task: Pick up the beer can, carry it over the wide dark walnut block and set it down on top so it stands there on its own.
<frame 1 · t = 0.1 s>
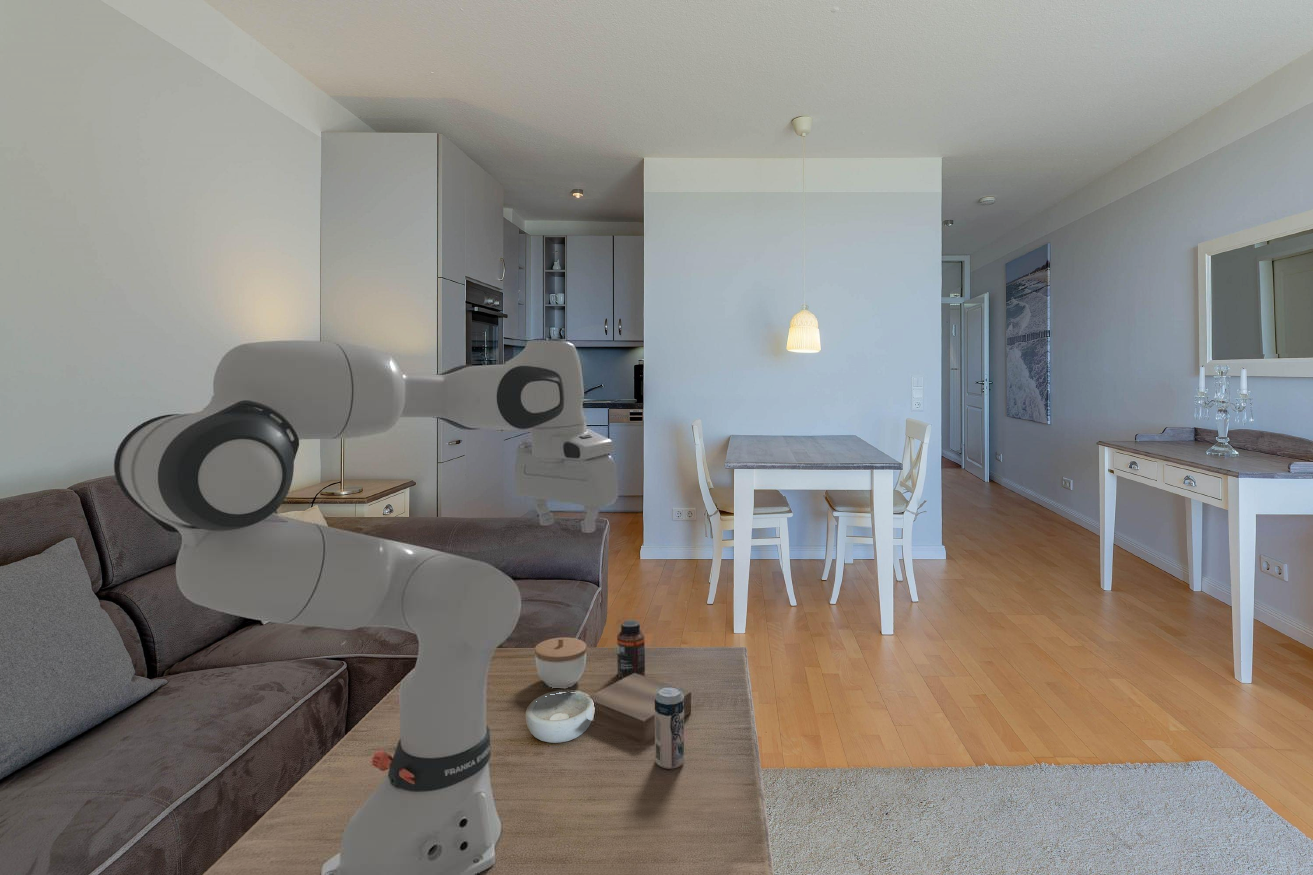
hand: (567, 527, 105), 39 cm above the table, tool pointing down, fingers open, 8 cm apart
supplement bottle: (631, 675, 141), on the table
beer can: (669, 763, 107), on the table
lidded jar: (561, 683, 137), on the table
walnut block: (639, 715, 122), on the table
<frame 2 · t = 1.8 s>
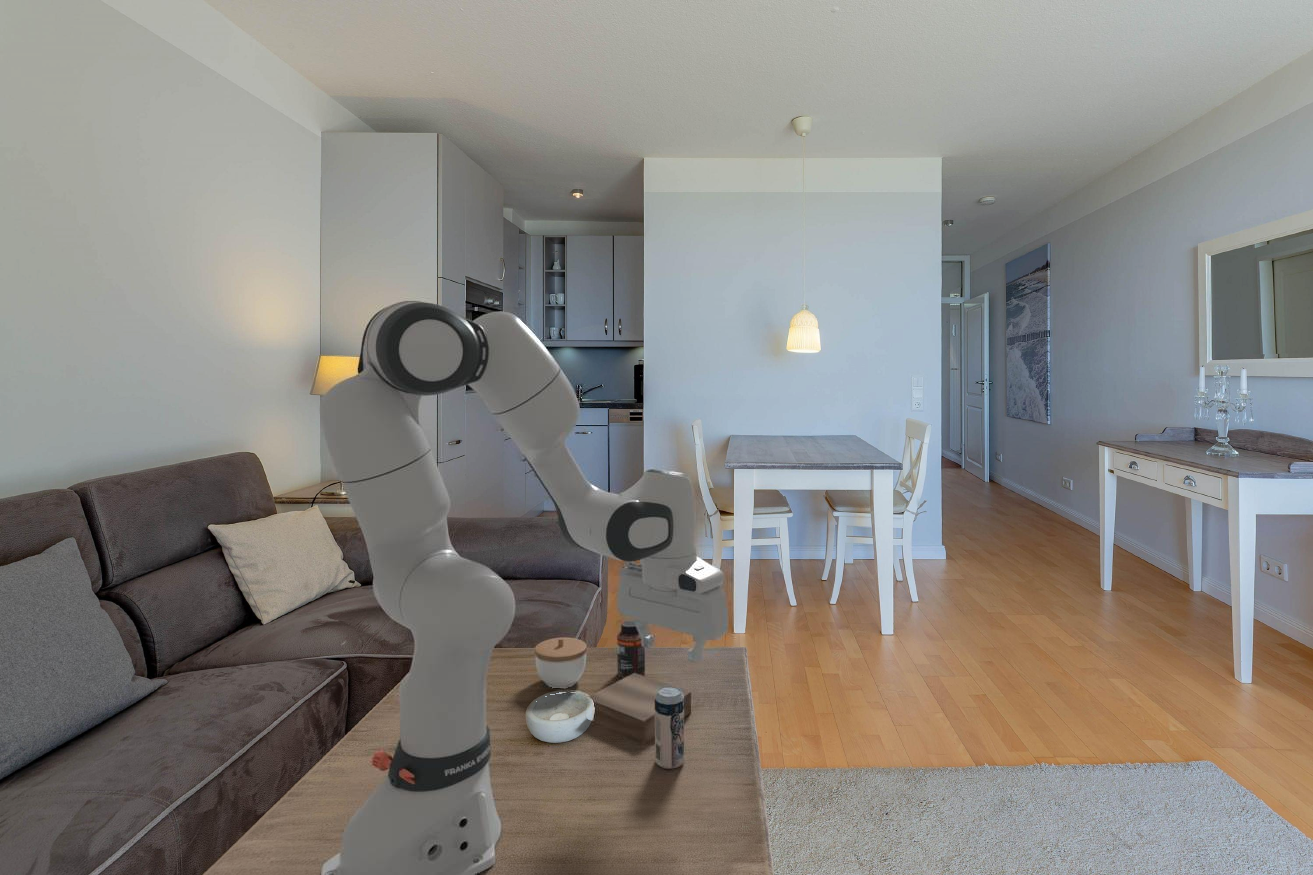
hand: (670, 653, 106), 18 cm above the table, tool pointing down, fingers open, 8 cm apart
nothing on the table moved.
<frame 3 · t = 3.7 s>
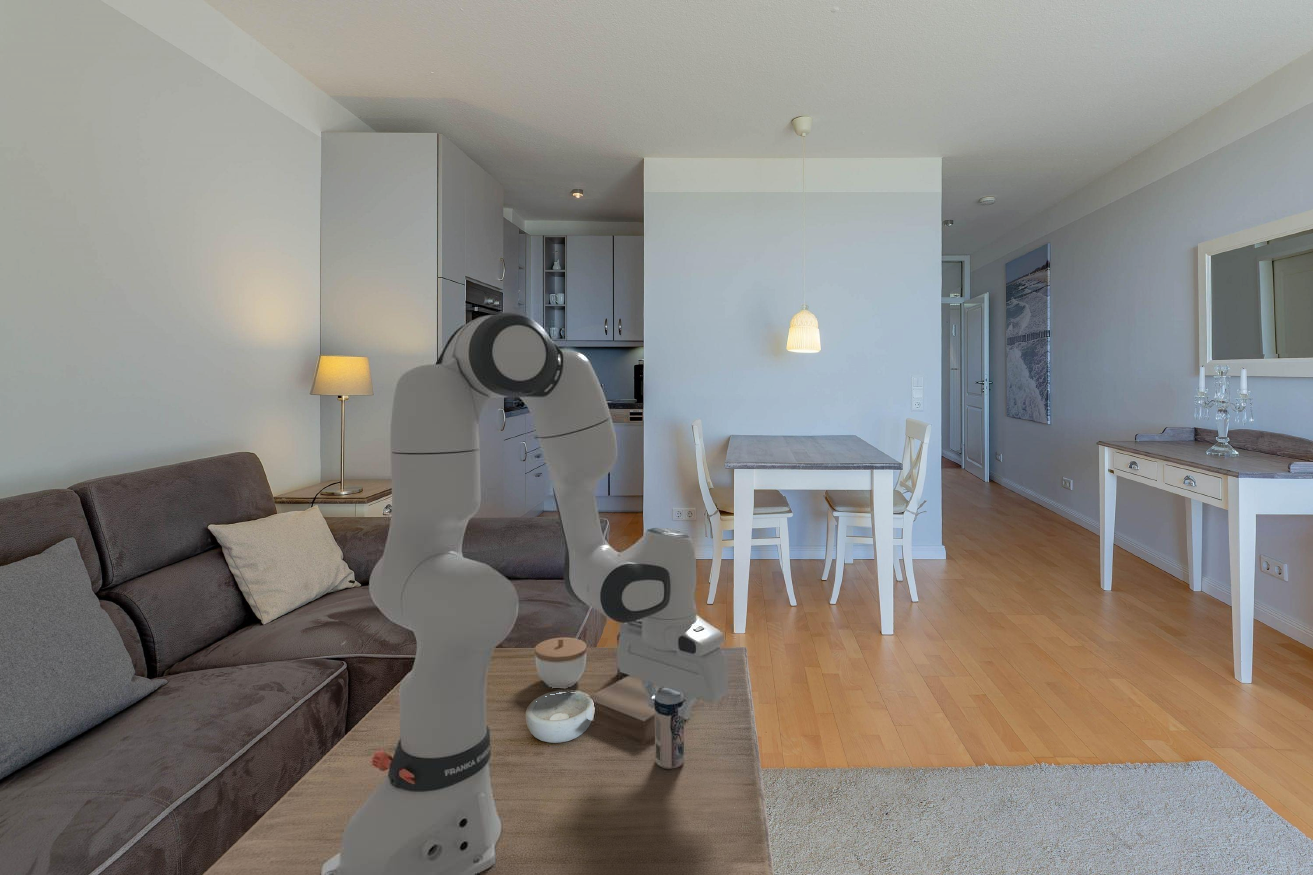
hand: (669, 711, 106), 9 cm above the table, tool pointing down, fingers closed on beer can, 5 cm apart
beer can: (669, 763, 107), on the table, touching gripper
everything else where it was.
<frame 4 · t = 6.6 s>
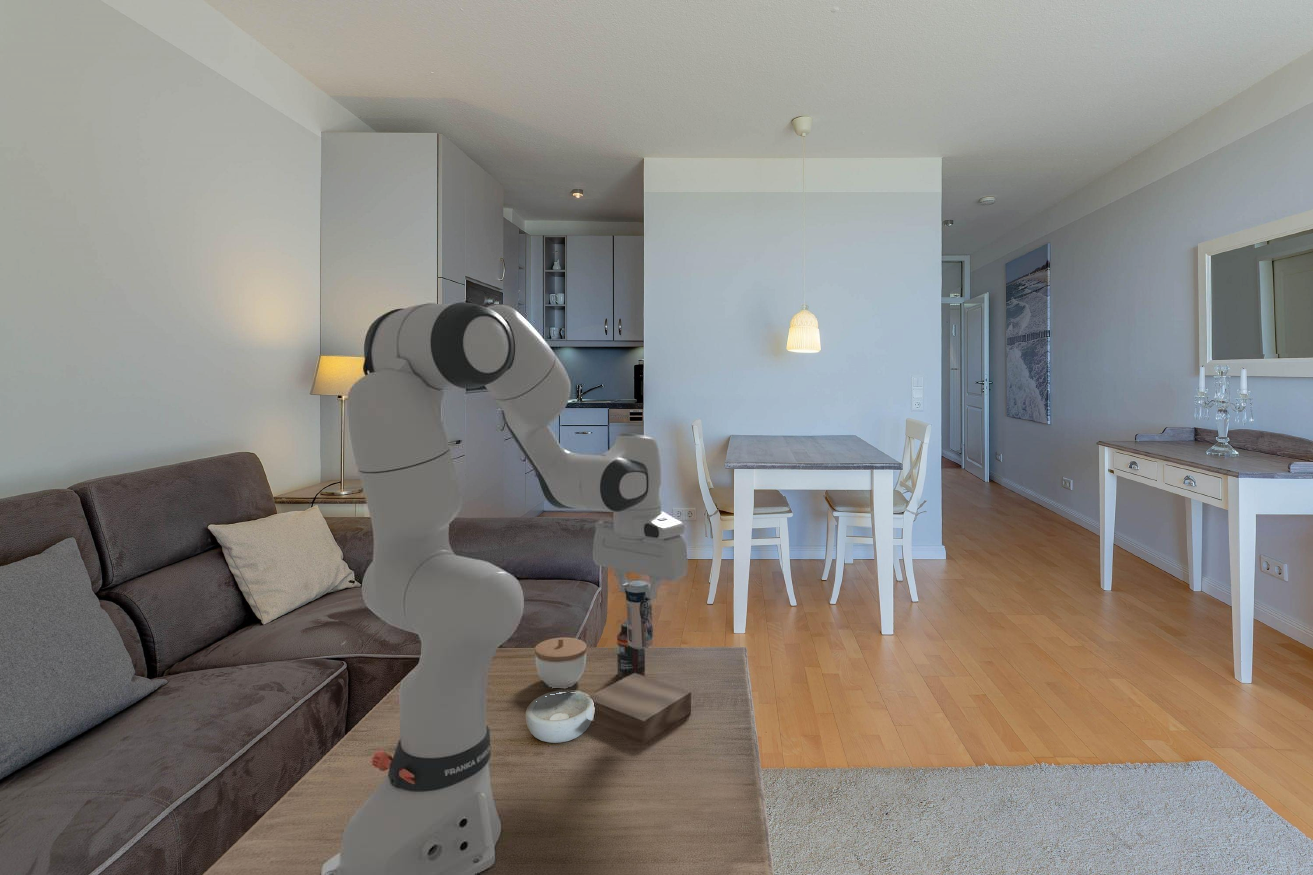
hand: (638, 595, 121), 23 cm above the table, tool pointing down, fingers closed on beer can, 5 cm apart
beer can: (640, 646, 122), point 13 cm above the table, touching gripper
everything else where it was.
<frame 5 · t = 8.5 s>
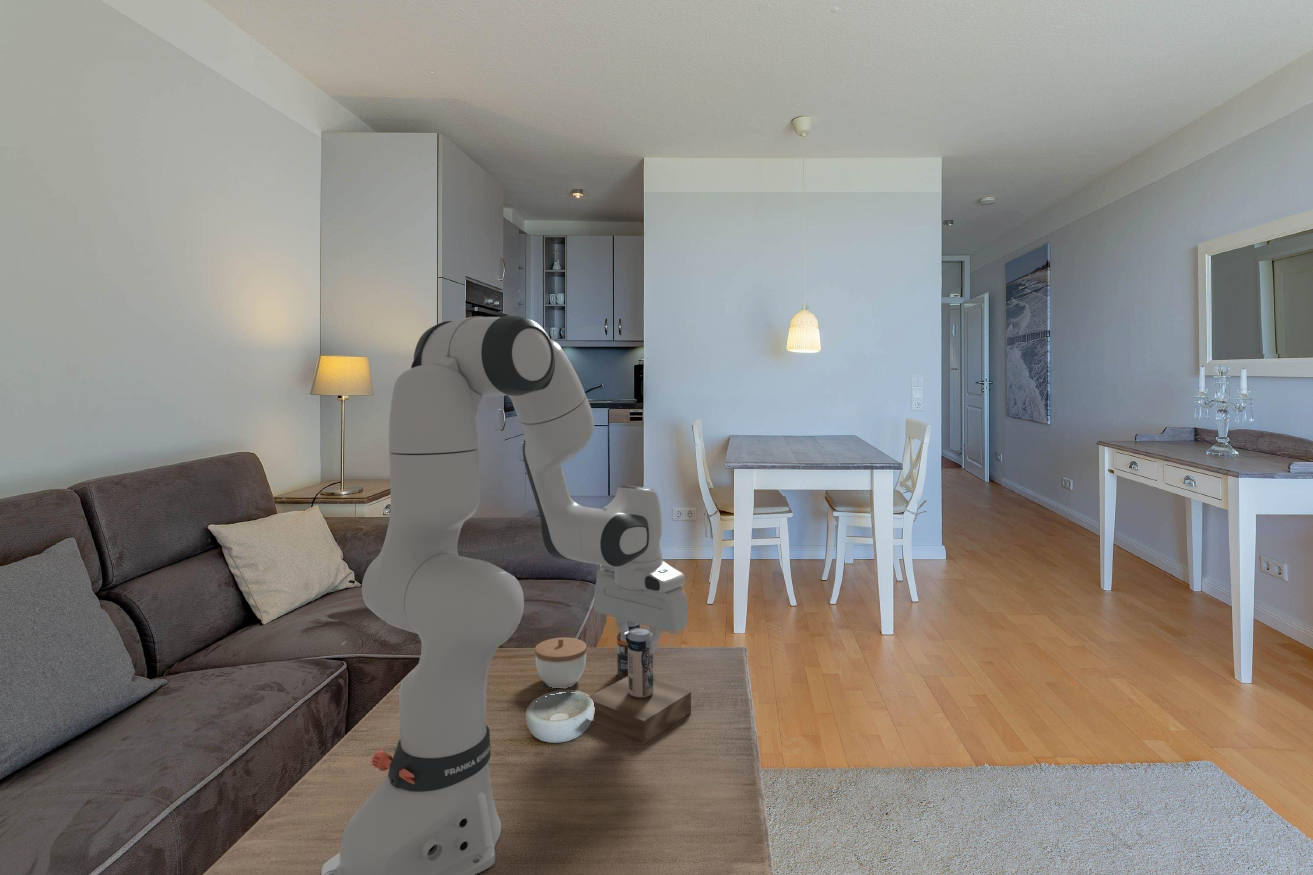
hand: (639, 644, 122), 14 cm above the table, tool pointing down, fingers closed on beer can, 5 cm apart
beer can: (641, 694, 123), point 4 cm above the table, touching gripper, walnut block
everything else where it was.
when the fingers open (13 cm above the table, at t = 9.6 s): beer can stays where it is, resting on walnut block.
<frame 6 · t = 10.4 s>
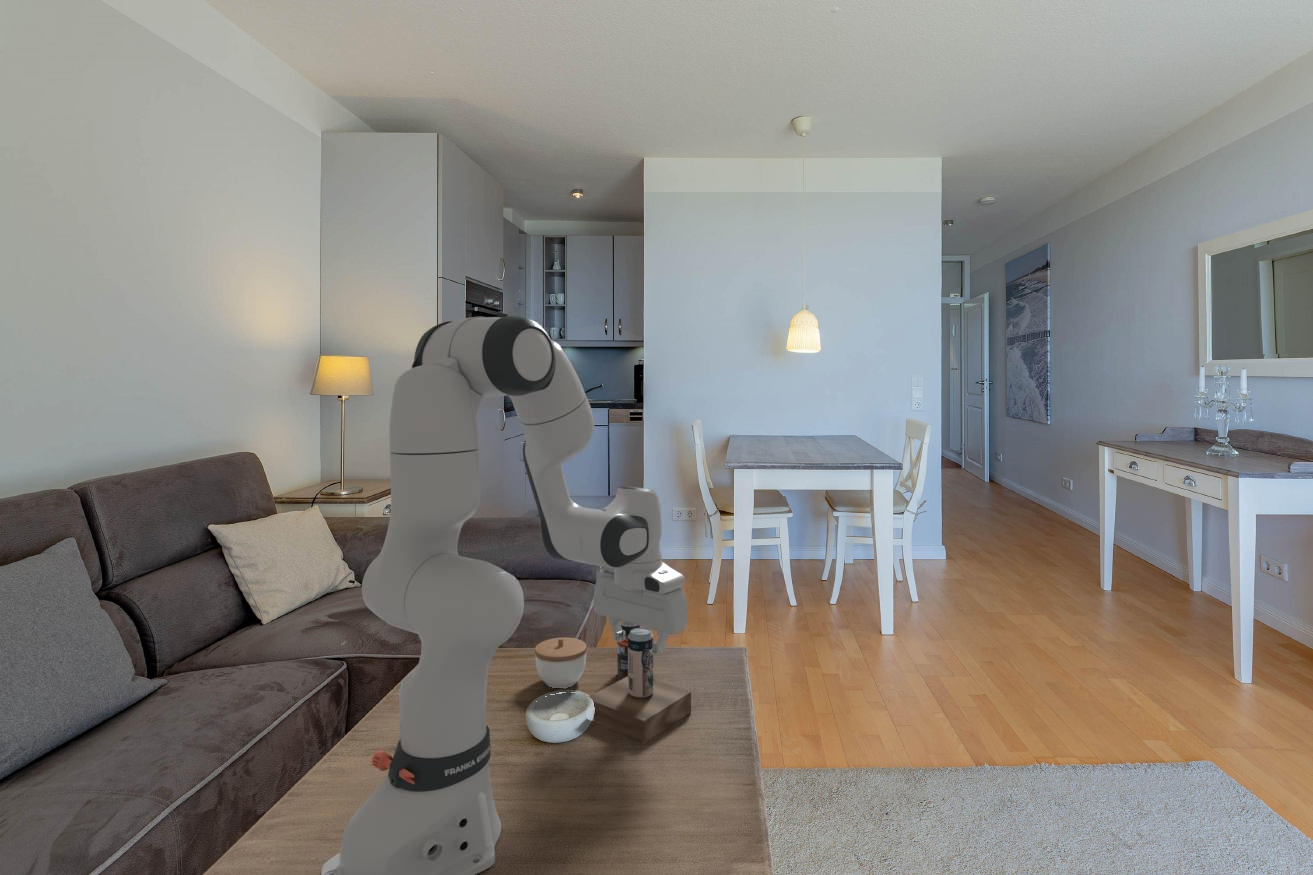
hand: (638, 646, 122), 13 cm above the table, tool pointing down, fingers open, 8 cm apart
beer can: (641, 694, 123), point 4 cm above the table, touching walnut block
everything else where it was.
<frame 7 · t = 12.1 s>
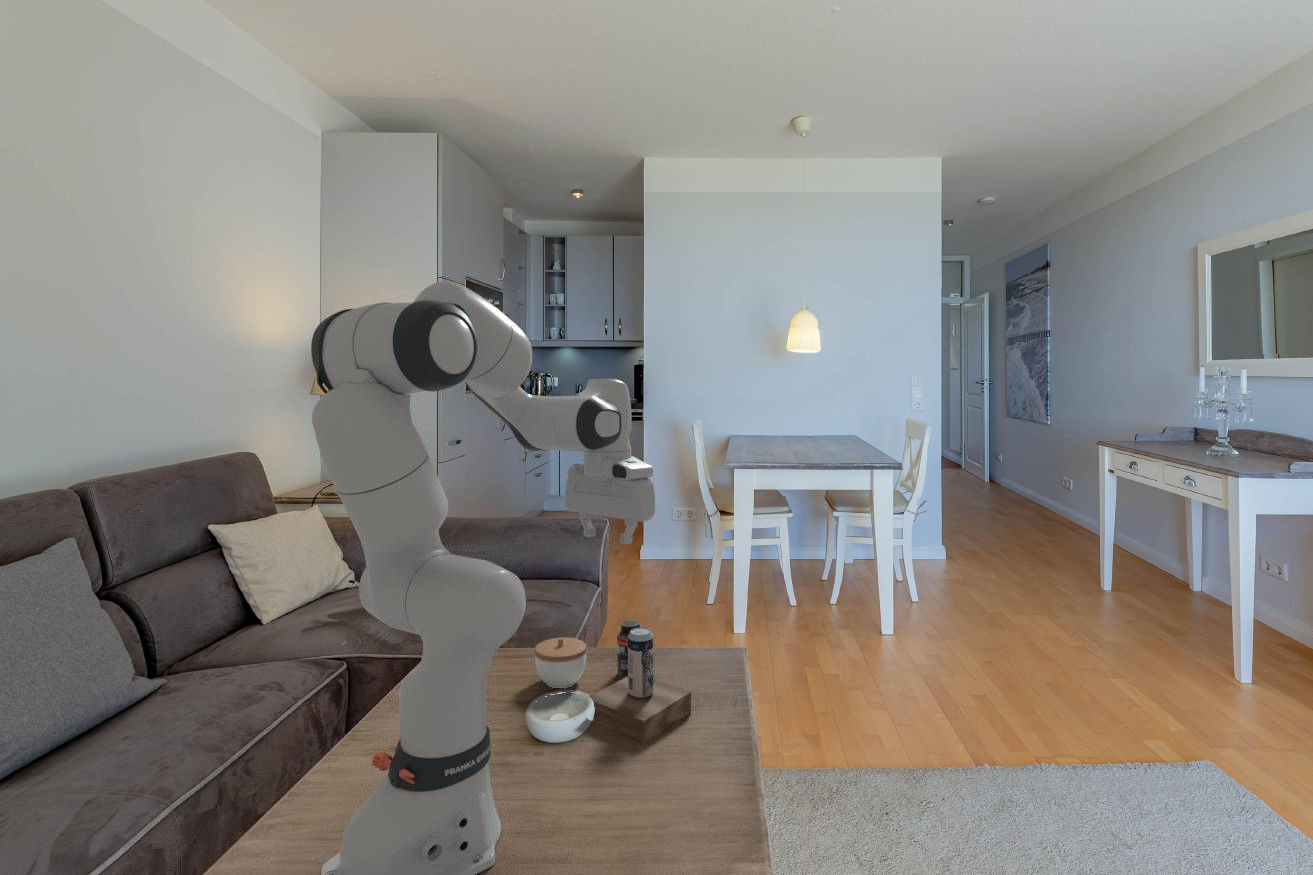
hand: (607, 539, 122), 33 cm above the table, tool pointing down, fingers open, 8 cm apart
nothing on the table moved.
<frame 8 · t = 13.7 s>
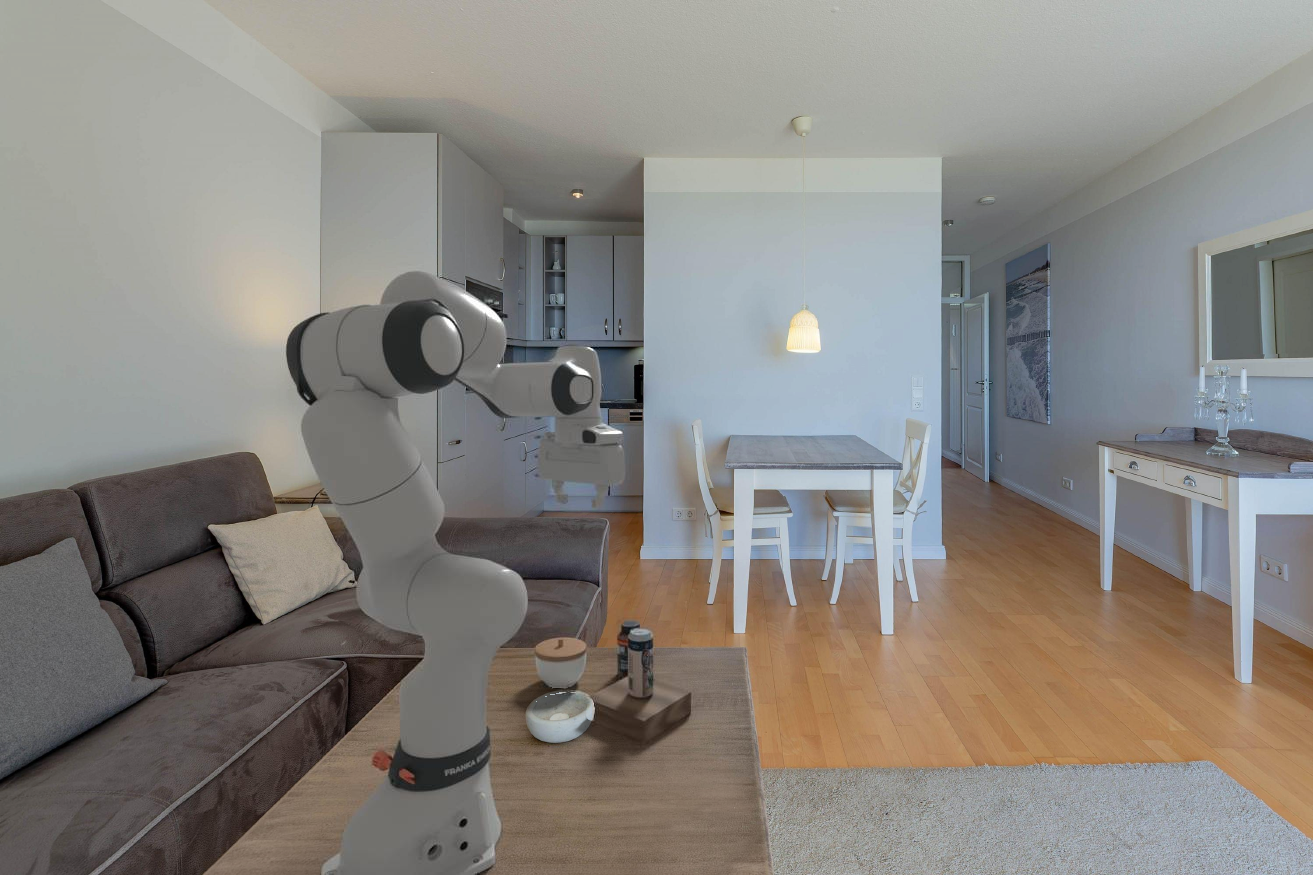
hand: (579, 505, 124), 39 cm above the table, tool pointing down, fingers open, 8 cm apart
nothing on the table moved.
at the end: beer can inside the target area on the walnut block (0.6 cm from its centre), point 3.8 cm above the walnut block's base; beer can tilted 0°; the gripper is holding nothing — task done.
